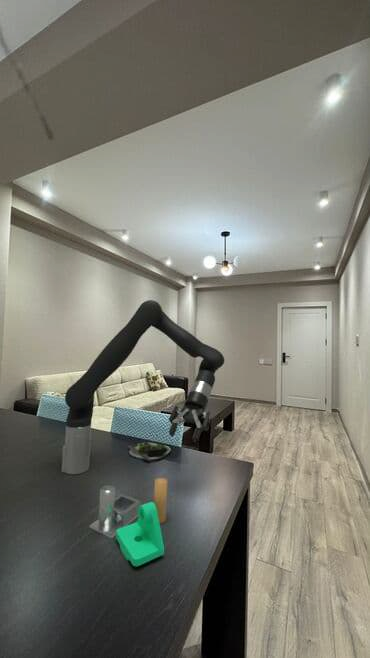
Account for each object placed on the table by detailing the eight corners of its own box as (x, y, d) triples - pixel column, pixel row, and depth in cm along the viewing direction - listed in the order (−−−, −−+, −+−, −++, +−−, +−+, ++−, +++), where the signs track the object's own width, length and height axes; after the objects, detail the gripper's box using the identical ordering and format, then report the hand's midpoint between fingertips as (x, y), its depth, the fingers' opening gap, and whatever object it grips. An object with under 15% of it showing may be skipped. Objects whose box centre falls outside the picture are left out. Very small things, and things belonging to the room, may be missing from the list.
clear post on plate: (120, 504, 89) (122, 470, 90) (141, 513, 86) (143, 477, 86) (89, 527, 79) (91, 488, 79) (111, 538, 75) (113, 497, 75)
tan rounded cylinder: (152, 523, 81) (154, 483, 82) (153, 515, 85) (155, 477, 85) (165, 523, 82) (167, 484, 82) (165, 515, 85) (167, 478, 85)
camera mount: (114, 540, 74) (116, 499, 75) (141, 530, 79) (143, 491, 79) (134, 572, 65) (136, 526, 65) (163, 558, 69) (165, 515, 69)
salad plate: (116, 455, 126) (117, 445, 126) (140, 442, 142) (141, 433, 142) (154, 466, 117) (154, 455, 118) (175, 451, 133) (175, 441, 133)
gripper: (178, 388, 106) (159, 428, 95) (214, 392, 99) (198, 436, 88) (184, 400, 110) (167, 439, 100) (219, 405, 103) (205, 448, 93)
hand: (182, 437), depth 94 cm, fingers open, 8 cm apart
